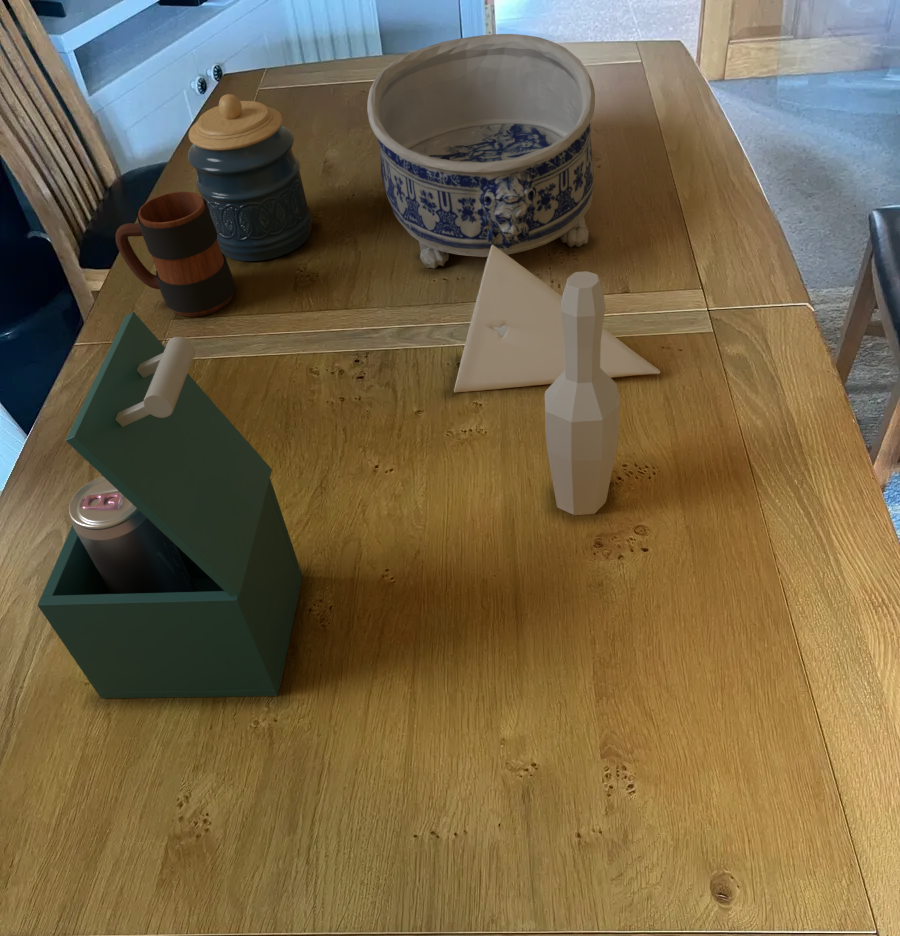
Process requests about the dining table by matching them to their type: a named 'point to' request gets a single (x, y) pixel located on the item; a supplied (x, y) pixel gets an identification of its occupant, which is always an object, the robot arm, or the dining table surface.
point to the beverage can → (126, 543)
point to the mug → (180, 254)
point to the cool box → (180, 623)
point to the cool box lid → (173, 452)
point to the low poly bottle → (582, 404)
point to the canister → (250, 180)
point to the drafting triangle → (525, 334)
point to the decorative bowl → (486, 144)
